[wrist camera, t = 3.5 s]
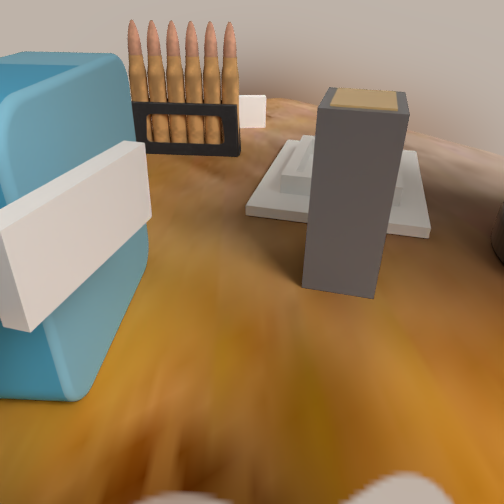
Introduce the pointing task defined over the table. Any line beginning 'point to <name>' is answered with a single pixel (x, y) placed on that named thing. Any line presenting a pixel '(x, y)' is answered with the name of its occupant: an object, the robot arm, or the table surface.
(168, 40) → the ammunition clip
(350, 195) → the grey upright block
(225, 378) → the table surface
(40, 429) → the table surface
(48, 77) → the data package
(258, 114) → the eraser
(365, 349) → the table surface
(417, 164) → the dock tray
